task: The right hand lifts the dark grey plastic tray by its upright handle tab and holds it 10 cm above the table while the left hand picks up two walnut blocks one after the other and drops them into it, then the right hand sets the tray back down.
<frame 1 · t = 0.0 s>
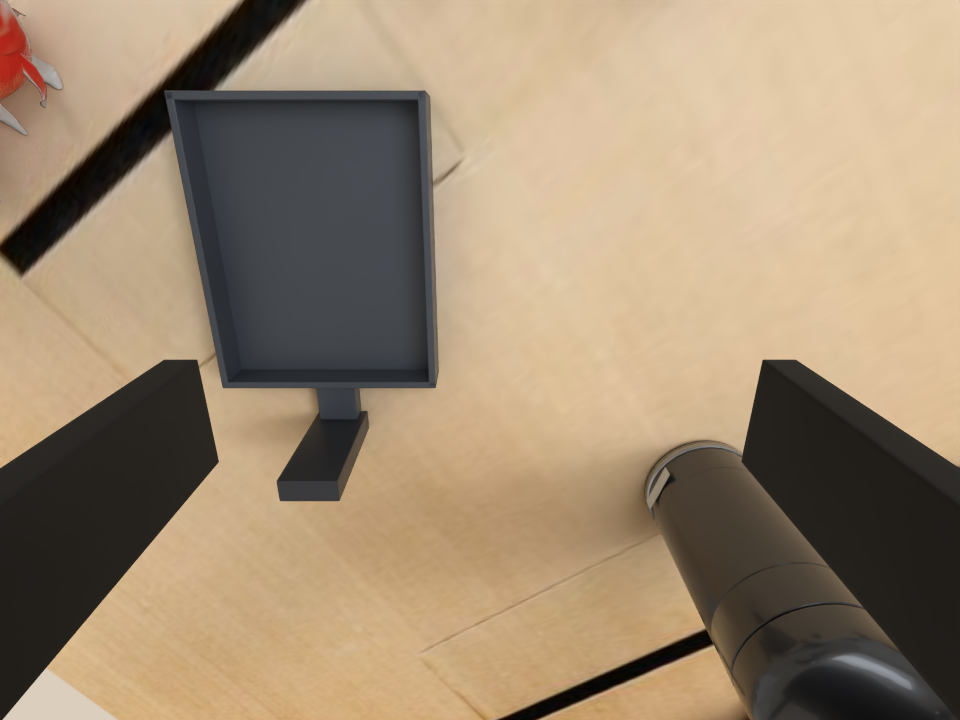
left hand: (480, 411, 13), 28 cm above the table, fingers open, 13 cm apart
tray: (326, 247, 39), on the table
fish: (14, 112, 36), on the table
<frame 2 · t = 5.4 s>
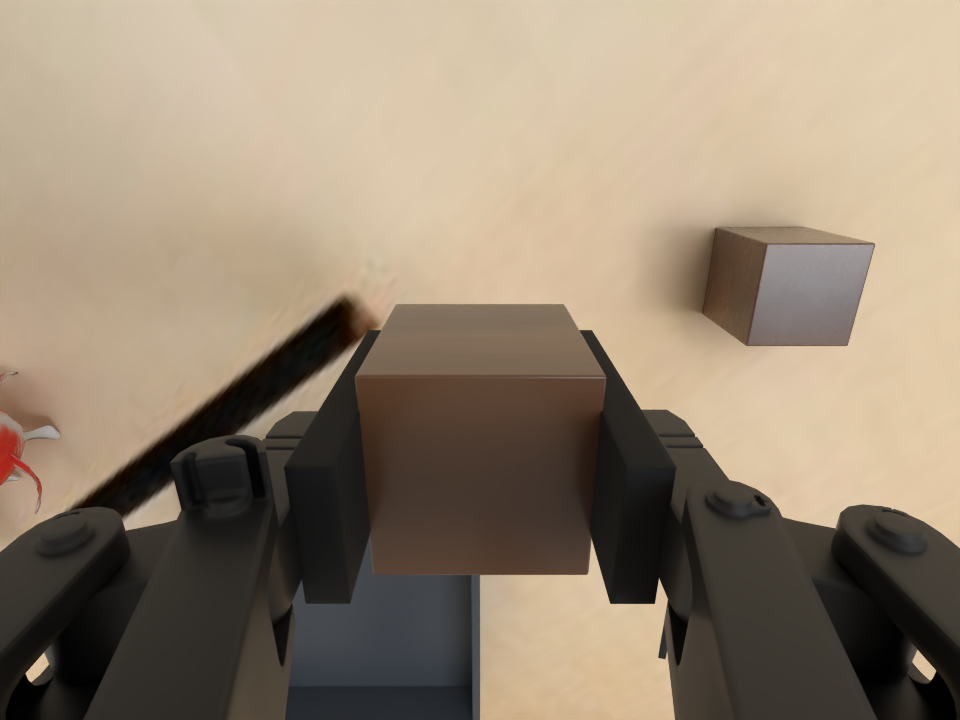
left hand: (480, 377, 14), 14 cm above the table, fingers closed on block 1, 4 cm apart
tray: (357, 575, 34), on the table, touching right hand
block 2: (752, 271, 27), on the table
fish: (5, 456, 31), on the table
block 1: (480, 381, 15), point 13 cm above the table, touching left hand
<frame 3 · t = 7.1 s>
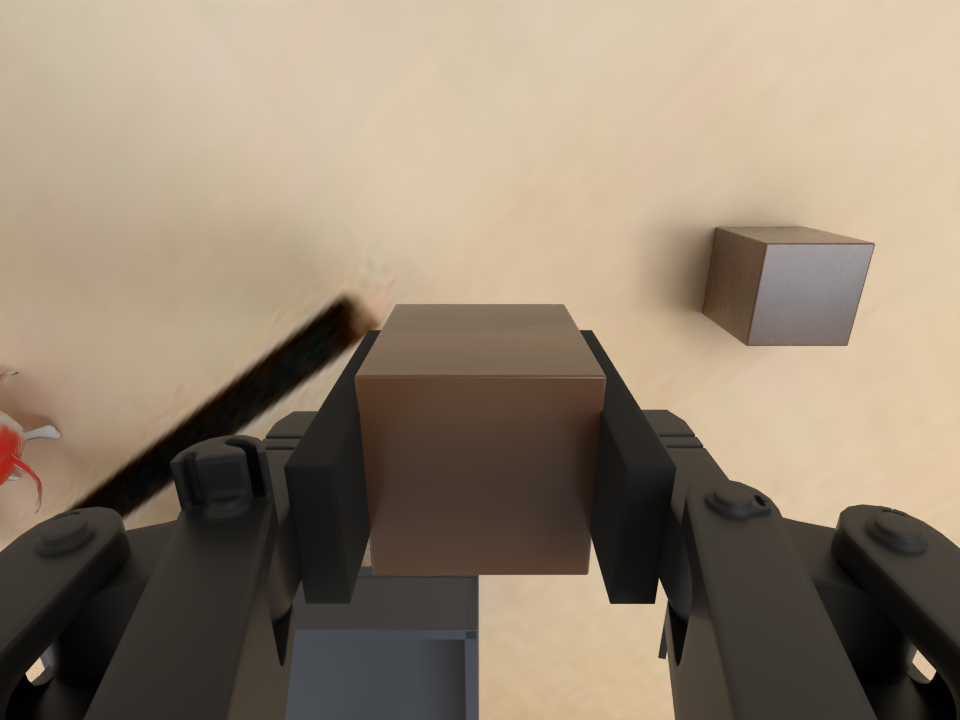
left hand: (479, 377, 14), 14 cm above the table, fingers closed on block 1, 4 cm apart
block 2: (752, 271, 27), on the table
fish: (5, 456, 31), on the table
block 1: (480, 381, 15), point 13 cm above the table, touching left hand
when the left hand's fingers open (14 cm above the table, at t = 9.0 s): block 1 drops 3 cm, resting on tray.
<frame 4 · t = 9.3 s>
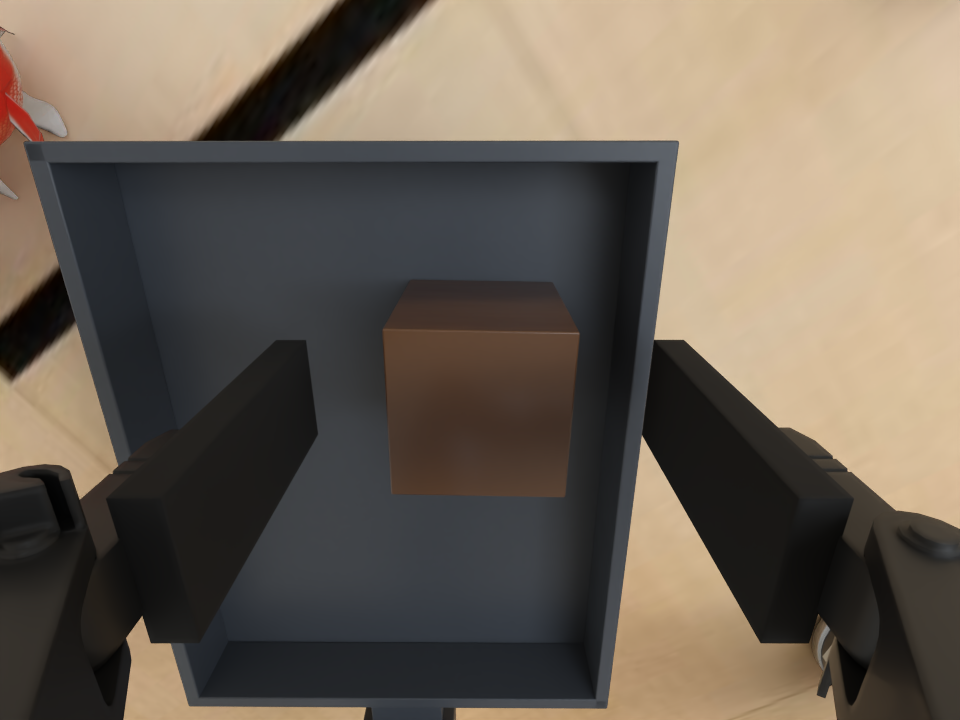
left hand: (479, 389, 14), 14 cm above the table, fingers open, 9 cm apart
tray: (394, 437, 19), point 10 cm above the table, touching block 1, right hand
block 1: (480, 347, 17), point 11 cm above the table, touching tray
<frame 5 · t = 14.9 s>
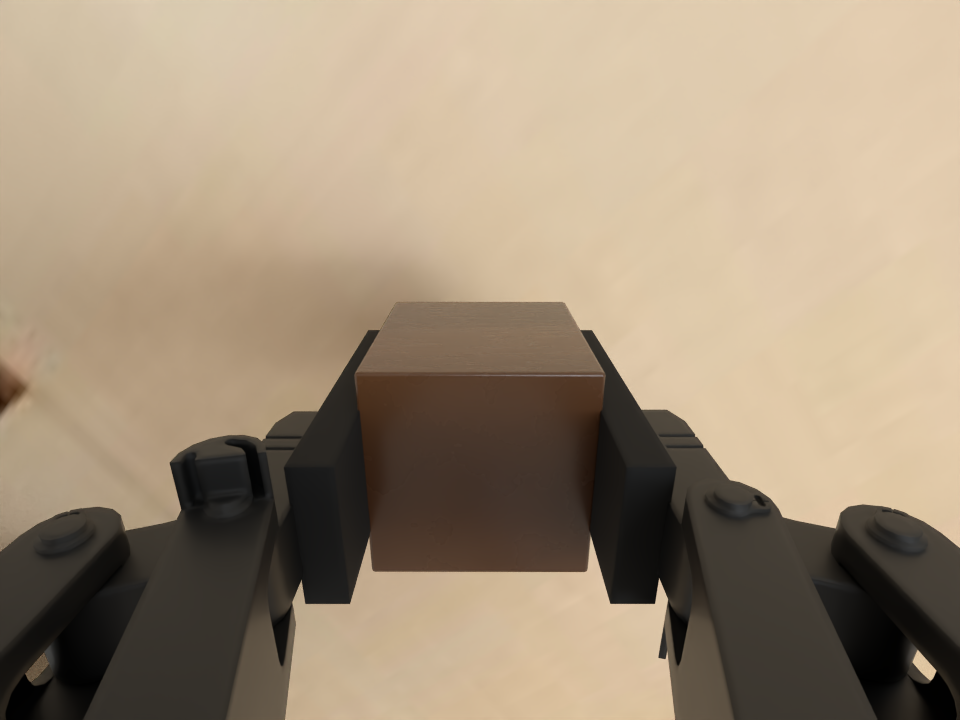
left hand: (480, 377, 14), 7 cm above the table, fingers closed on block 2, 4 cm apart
block 2: (480, 379, 15), point 7 cm above the table, touching left hand
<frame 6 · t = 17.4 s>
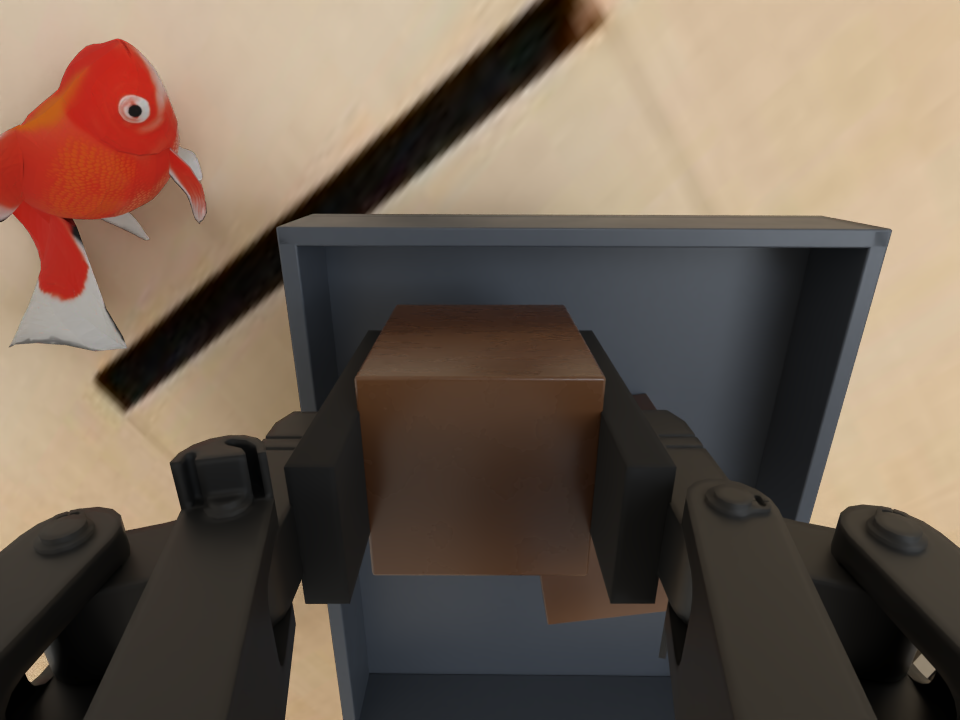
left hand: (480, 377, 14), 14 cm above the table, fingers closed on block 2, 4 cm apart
tray: (549, 483, 20), point 10 cm above the table, touching block 1, right hand
block 2: (480, 381, 15), point 13 cm above the table, touching left hand
fish: (132, 209, 26), on the table
block 1: (586, 457, 19), point 11 cm above the table, touching tray
when the left hand's fingers open (14 cm above the table, at t = 17.9 s): block 2 drops 13 cm, resting on tray.
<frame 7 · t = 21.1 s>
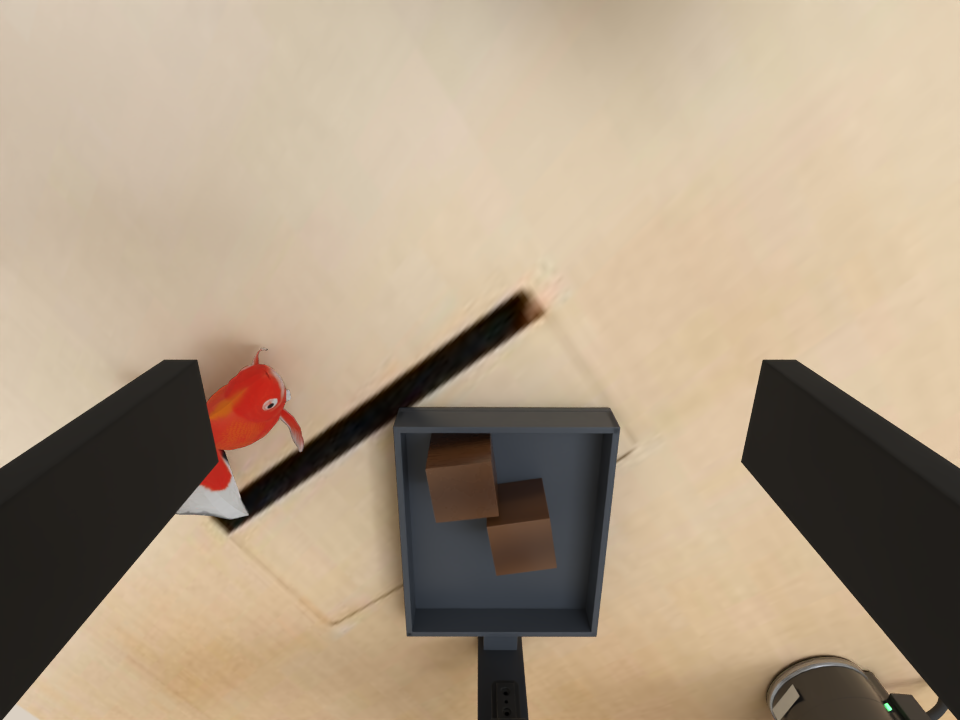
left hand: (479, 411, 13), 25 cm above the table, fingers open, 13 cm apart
tray: (502, 515, 44), on the table, touching block 1, block 2
block 2: (464, 454, 41), point 1 cm above the table, touching tray
fish: (244, 415, 40), on the table
block 1: (517, 504, 43), point 1 cm above the table, touching tray
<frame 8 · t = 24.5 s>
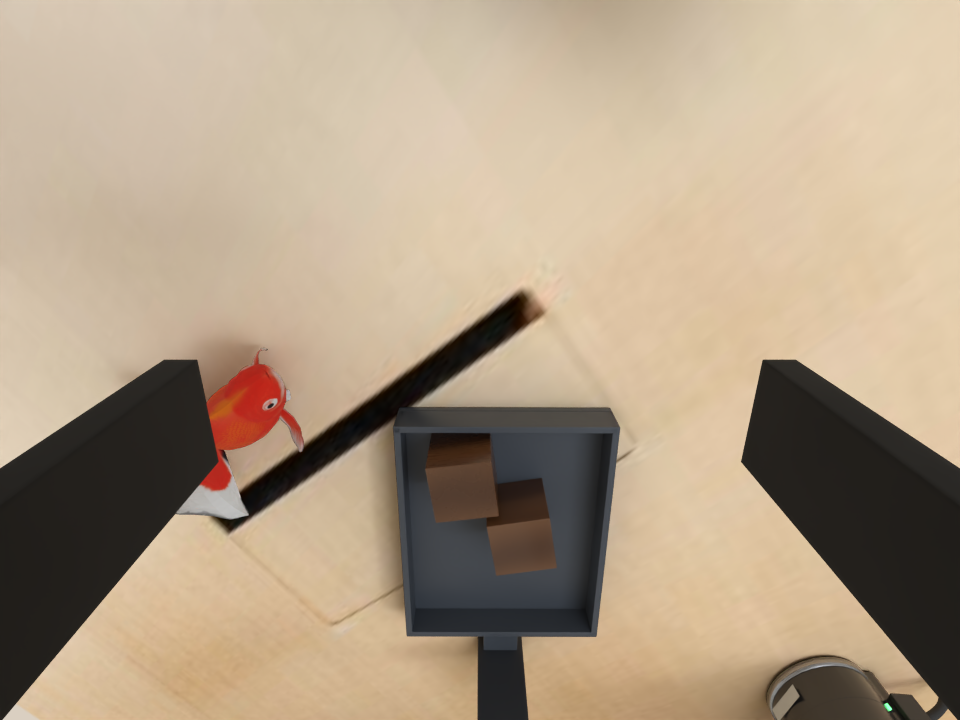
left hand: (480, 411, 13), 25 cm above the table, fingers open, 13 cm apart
tray: (502, 515, 44), on the table, touching block 1, block 2
block 2: (464, 454, 41), point 1 cm above the table, touching tray
fish: (244, 415, 40), on the table
block 1: (517, 504, 43), point 1 cm above the table, touching tray
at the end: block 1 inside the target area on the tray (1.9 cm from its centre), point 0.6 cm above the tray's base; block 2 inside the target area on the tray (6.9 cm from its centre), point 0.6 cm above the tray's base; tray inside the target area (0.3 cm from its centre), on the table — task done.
